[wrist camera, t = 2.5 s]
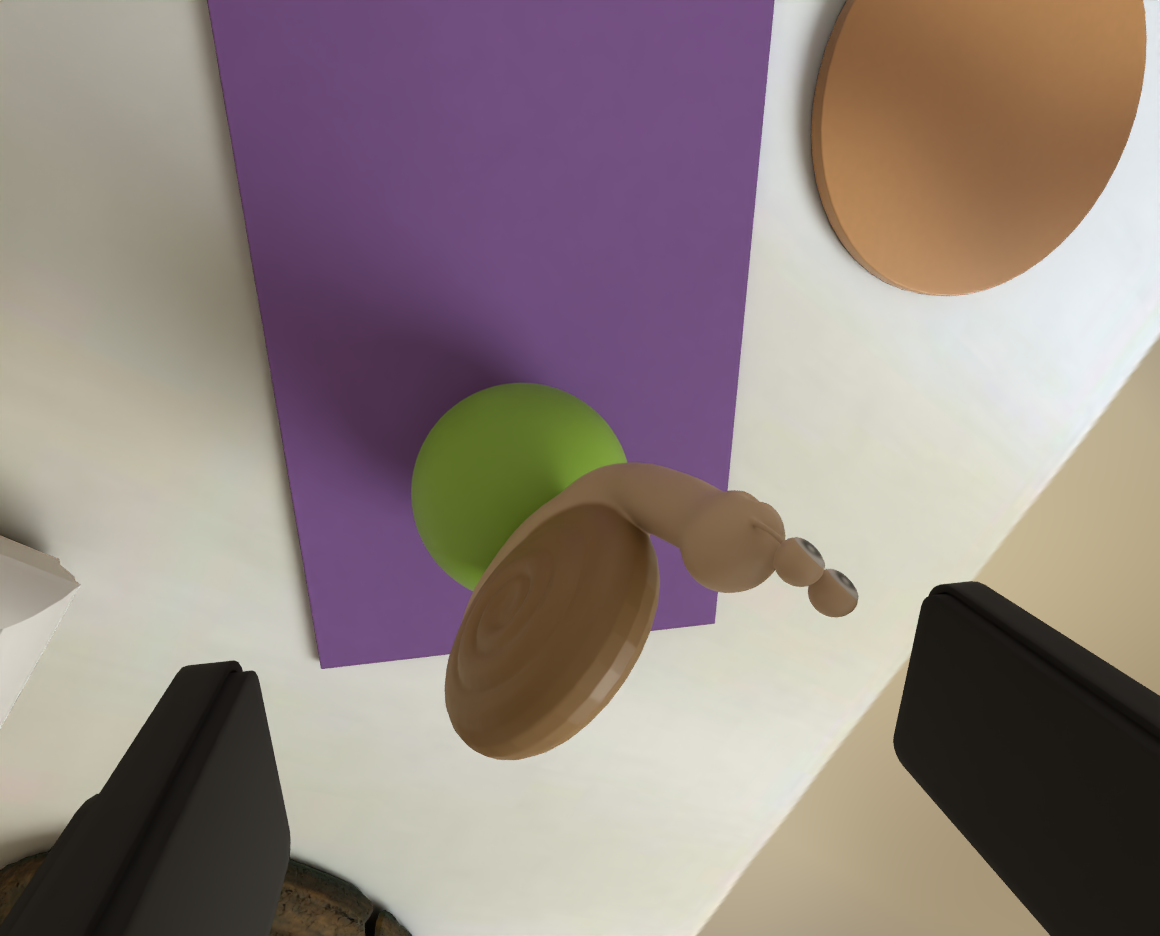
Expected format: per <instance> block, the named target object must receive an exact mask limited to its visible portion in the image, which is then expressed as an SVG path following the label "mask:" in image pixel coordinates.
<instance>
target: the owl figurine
mask: <svg viewBox="0 0 1160 936" xmlns="http://www.w3.org/2000/svg"><path fill="white" fill-rule="evenodd" d="M47 855H48V853H44V854H40V853H39V855H34V856H32V857H26V858H24V859H22V860H20V861H18V862H16V863H14V864H10V865H7V866H6V867H5V868H3V869H2V870H0V925H1V924H2V922H3V921H4V919H5V918H6V916H7V915H8V913H9V912H10V910H11V909H12V907H13V906H14V904H15V903H16V901H17V900H18V898H19V897H20V895H21V894H22V892H23V891H24V889H25V888H26V886H27V885H28V883H29V882H30V880H31V879H32V877H33V876H34V874H35V873H36V871H37V870H38V868H39V867H40V865H41V864H42V862H43V861H44V859H45V858H46V856H47ZM372 911H373V906H372V903H371V902H370V901H369V900H368V899H367V898H366V897H365V896H364V895H363V894H362V893H361V891H360V890H359V889H357V888H356V887H355V886H353V885H351V884H349V883H347V882H345V881H343V880H341V879H339V878H336V877H334V876H332V875H329V874H326V873H323V872H320V871H318V870H316V869H313V868H311V867H309V866H307V865H304V864H301V863H297V862H294V861H292V860H290V859H289V862H288V867H287V871H286V874H285V878H284V882H283V886H282V889H281V893H280V897H279V901H278V904H277V908H276V912H275V916H274V919H273V923H272V927H271V931H270V934H269V936H365V922H366V921H367V920H368V919H369V917H370V916H371V913H372ZM375 936H412V935H411V934H410V933H409V932H408V931H407V930H406V929H405V928H404V927H403V926H399V924H398V923H397V921H396V918H395V917H394V916H393V915H392V914H391V913H390V912H388V911H387V910H385V911H381V912H380V913H379V917H378V919H377V921H376V926H375Z"/></svg>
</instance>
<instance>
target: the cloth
mask: <svg viewBox="0 0 1160 936" xmlns="http://www.w3.org/2000/svg"><path fill="white" fill-rule="evenodd" d="M207 2H208V8H209V14H210V20H211V25H212V31H213V37H214V43H215V49H216V55H217V61H218V67H219V72H220V78H221V84H222V90H223V96H224V102H225V108H226V113H227V119H228V125H229V131H230V137H231V143H232V149H233V155H234V160H235V166H236V172H237V178H238V184H239V190H240V196H241V202H242V207H243V213H244V219H245V225H246V231H247V237H248V243H249V248H250V254H251V260H252V266H253V272H254V278H255V284H256V290H257V295H258V301H259V307H260V313H261V319H262V325H263V331H264V336H265V342H266V348H267V354H268V360H269V366H270V372H271V378H272V383H273V389H274V395H275V401H276V407H277V413H278V419H279V424H280V430H281V436H282V442H283V448H284V454H285V460H286V466H287V471H288V477H289V483H290V489H291V495H292V501H293V507H294V512H295V518H296V524H297V530H298V536H299V542H300V548H301V554H302V559H303V565H304V571H305V577H306V583H307V589H308V595H309V600H310V606H311V612H312V618H313V624H314V630H315V636H316V642H317V647H318V653H319V659H320V665H321V669H325V668H334V667H343V666H351V665H360V664H369V663H377V662H386V661H395V660H403V659H412V658H420V657H429V656H438V655H446V654H450V652H451V649H452V646H453V643H454V640H455V637H456V635H457V632H458V630H459V627H460V625H461V622H462V619H463V616H464V613H465V610H466V608H467V605H468V602H469V600H470V598H471V595H472V593H473V591H471V590H469V589H468V588H466V587H464V586H463V585H461V584H459V583H458V582H457V581H455V580H454V579H453V578H451V577H450V576H449V575H448V574H447V573H446V572H445V571H444V570H443V569H442V568H441V567H440V566H439V565H438V564H437V563H436V562H435V560H434V559H433V558H432V556H431V555H430V553H429V552H428V550H427V549H426V547H425V545H424V543H423V541H422V539H421V537H420V535H419V532H418V529H417V526H416V523H415V520H414V515H413V510H412V500H411V485H412V476H413V471H414V466H415V463H416V459H417V456H418V454H419V451H420V449H421V447H422V444H423V443H424V441H425V439H426V437H427V435H428V434H429V432H430V431H431V429H432V428H433V427H434V425H435V424H436V423H437V422H438V421H439V419H440V418H441V417H442V416H443V415H444V414H445V413H446V412H447V411H448V410H450V409H451V408H452V407H453V406H455V405H456V404H457V403H459V402H460V401H462V400H463V399H465V398H467V397H468V396H470V395H472V394H474V393H476V392H479V391H481V390H484V389H487V388H490V387H493V386H497V385H502V384H509V383H535V384H541V385H546V386H550V387H554V388H557V389H560V390H562V391H565V392H567V393H569V394H571V395H573V396H575V397H577V398H579V399H580V400H582V401H583V402H585V403H586V404H587V405H589V406H590V407H591V408H593V409H594V410H595V411H596V412H597V413H598V414H599V415H600V416H601V417H602V418H603V419H604V420H605V421H606V423H607V424H608V425H609V426H610V428H611V429H612V431H613V432H614V434H615V435H616V437H617V439H618V440H619V442H620V444H621V446H622V449H623V451H624V454H625V456H626V459H627V463H629V462H638V463H648V464H654V465H659V466H663V467H667V468H670V469H673V470H676V471H679V472H682V473H685V474H688V475H691V476H693V477H696V478H698V479H701V480H703V481H705V482H707V483H709V484H710V485H712V486H714V487H716V488H717V489H719V490H721V491H727V489H728V479H729V469H730V458H731V448H732V437H733V427H734V417H735V406H736V396H737V385H738V375H739V364H740V354H741V344H742V333H743V323H744V312H745V302H746V291H747V281H748V271H749V260H750V250H751V239H752V229H753V218H754V208H755V198H756V187H757V177H758V166H759V156H760V146H761V135H762V125H763V114H764V104H765V93H766V83H767V73H768V62H769V52H770V41H771V31H772V20H773V10H774V0H207ZM650 539H651V542H652V545H653V547H654V549H655V552H656V555H657V560H658V566H659V575H660V588H659V599H658V606H657V610H656V613H655V617H654V621H653V625H652V628H651V631H654V630H662V629H671V628H680V627H688V626H697V625H706V624H714V623H715V615H716V604H717V594H718V592H717V591H714V590H711V589H708V588H706V587H704V586H703V585H701V584H700V583H698V582H697V581H696V580H695V579H694V578H693V577H692V576H691V575H690V573H689V572H688V570H687V569H686V567H685V565H684V562H683V559H682V556H681V551H680V549H679V548H677V547H676V546H674V545H672V544H670V543H668V542H666V541H664V540H662V539H661V538H659V537H657V536H655V535H652V534H650Z"/></svg>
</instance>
